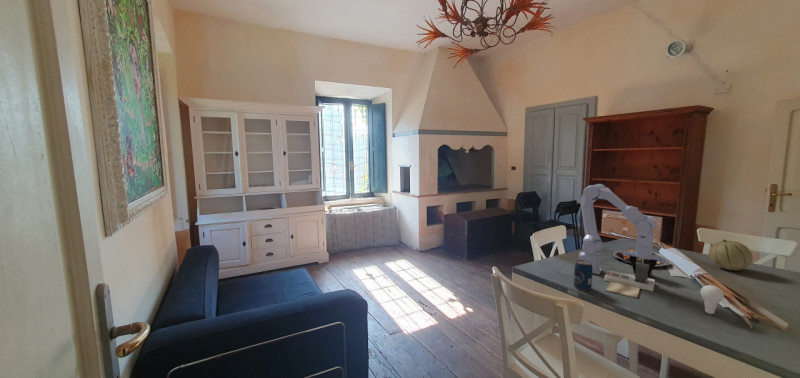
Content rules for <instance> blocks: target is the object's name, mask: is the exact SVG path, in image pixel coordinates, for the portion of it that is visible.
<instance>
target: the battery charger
mask: <svg viewBox="0 0 800 378" xmlns="http://www.w3.org/2000/svg"><path fill="white" fill-rule="evenodd" d="M652 255H655V256H656V255H657V254H655V253H652ZM649 262H650V260H647V259H641V263H642V264H648V265H649ZM653 275H654V274H653V272H652V271H651V274H650V276H648V278H651V277H653Z"/></svg>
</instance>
